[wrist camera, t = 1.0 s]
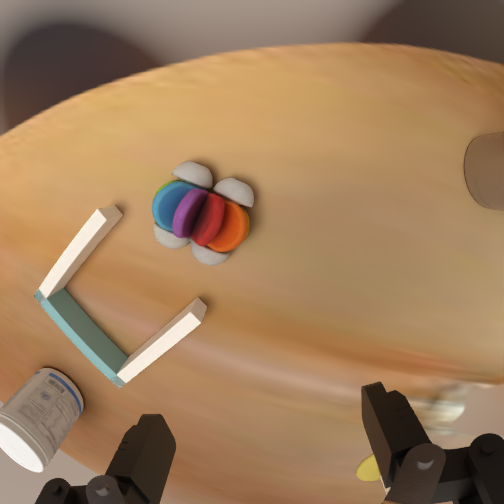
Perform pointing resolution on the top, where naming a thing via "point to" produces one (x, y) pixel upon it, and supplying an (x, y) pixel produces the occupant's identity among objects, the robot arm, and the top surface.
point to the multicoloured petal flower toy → (202, 213)
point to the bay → (84, 328)
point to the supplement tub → (39, 418)
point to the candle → (370, 471)
